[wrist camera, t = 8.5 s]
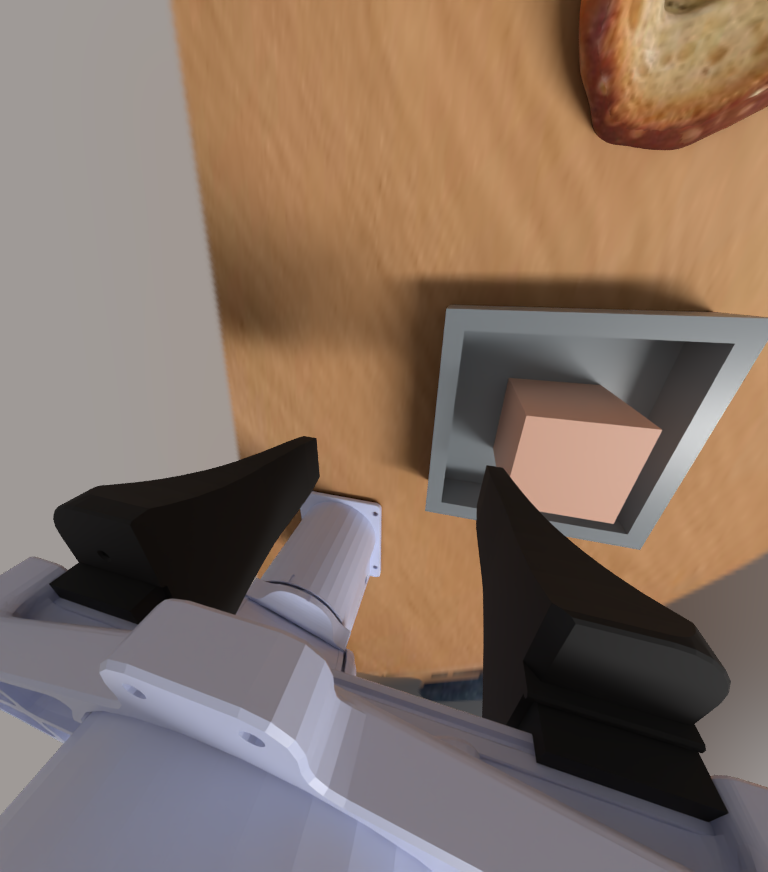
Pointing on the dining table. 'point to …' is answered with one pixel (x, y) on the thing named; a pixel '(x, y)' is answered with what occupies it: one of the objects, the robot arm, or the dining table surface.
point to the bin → (587, 364)
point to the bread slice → (672, 68)
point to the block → (572, 447)
